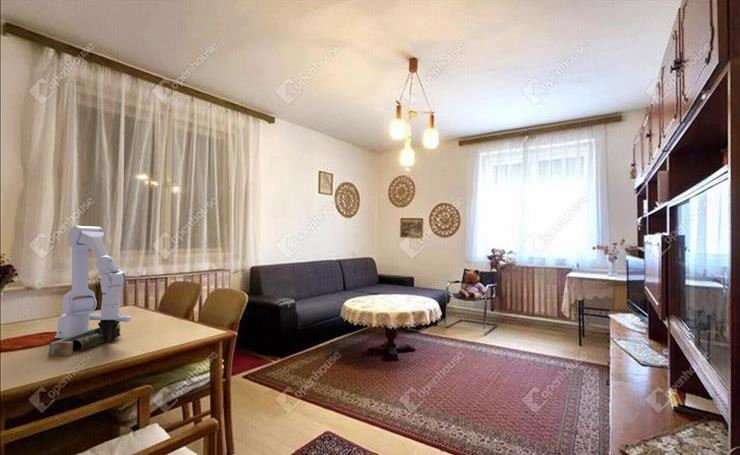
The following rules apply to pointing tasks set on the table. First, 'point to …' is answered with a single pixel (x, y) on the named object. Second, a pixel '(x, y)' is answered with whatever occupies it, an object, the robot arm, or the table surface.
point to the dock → (69, 343)
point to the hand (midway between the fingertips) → (107, 340)
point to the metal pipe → (92, 339)
